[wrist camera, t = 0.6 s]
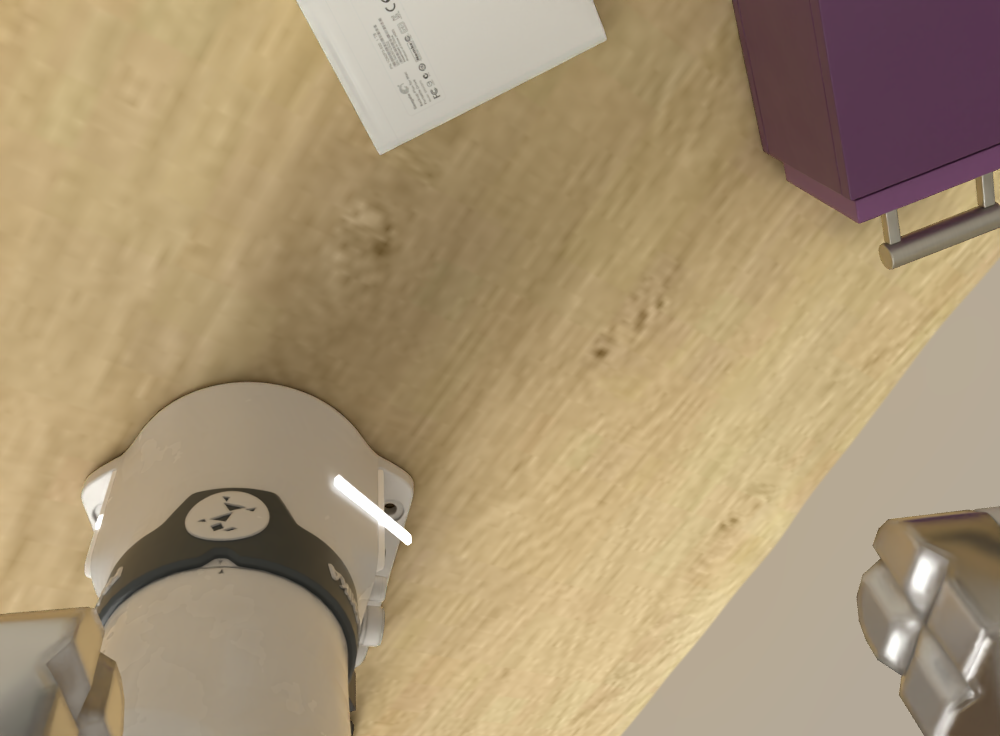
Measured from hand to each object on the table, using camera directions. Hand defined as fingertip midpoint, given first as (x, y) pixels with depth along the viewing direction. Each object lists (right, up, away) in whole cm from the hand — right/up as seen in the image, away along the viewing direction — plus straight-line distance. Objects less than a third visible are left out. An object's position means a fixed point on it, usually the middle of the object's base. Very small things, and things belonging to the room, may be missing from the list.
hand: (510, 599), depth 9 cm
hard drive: (-2, +20, +34) cm, 39 cm away
